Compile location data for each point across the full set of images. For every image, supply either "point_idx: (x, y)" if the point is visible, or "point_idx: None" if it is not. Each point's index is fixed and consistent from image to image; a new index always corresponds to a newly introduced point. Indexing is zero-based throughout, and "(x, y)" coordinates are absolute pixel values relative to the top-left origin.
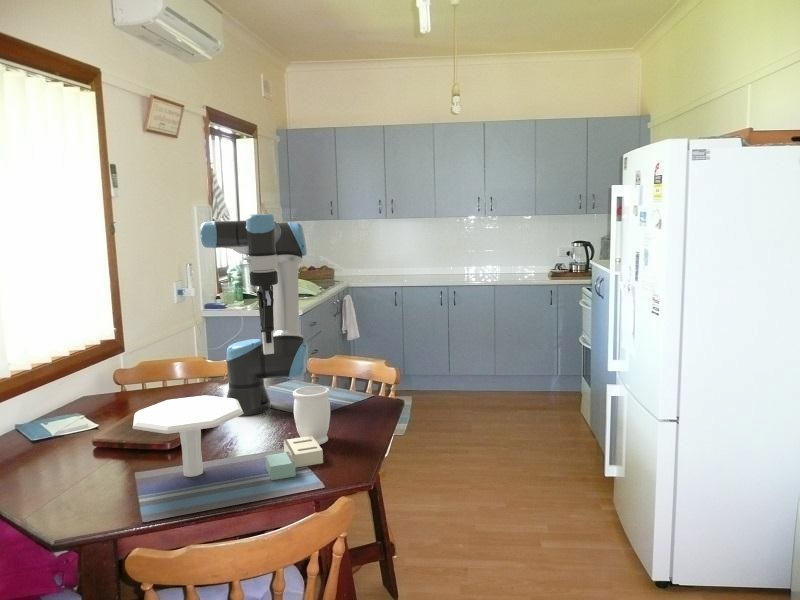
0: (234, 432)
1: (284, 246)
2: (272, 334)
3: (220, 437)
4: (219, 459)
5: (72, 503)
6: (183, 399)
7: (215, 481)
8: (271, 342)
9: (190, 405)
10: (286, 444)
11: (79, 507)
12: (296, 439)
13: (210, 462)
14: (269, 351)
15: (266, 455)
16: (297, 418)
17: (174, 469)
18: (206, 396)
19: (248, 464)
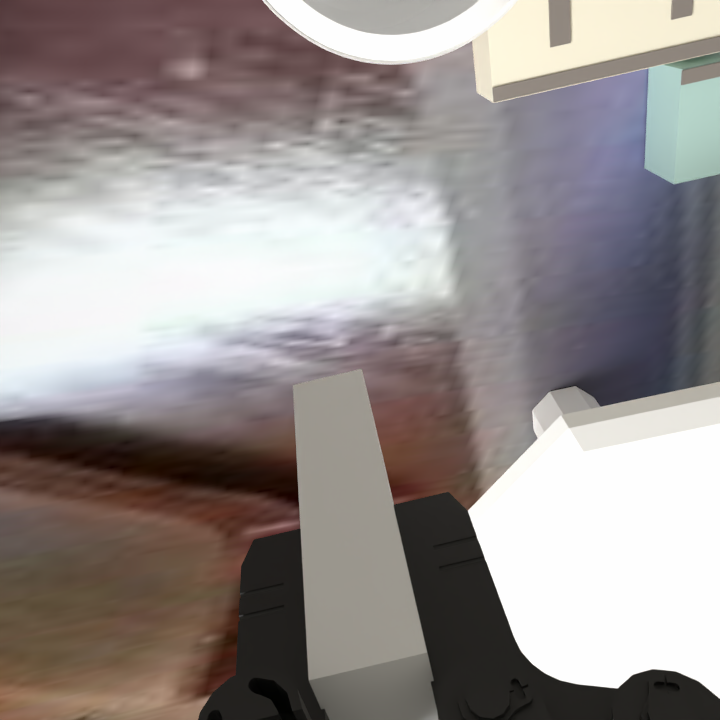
0: (151, 342)
1: None
2: (411, 590)
3: (212, 386)
4: (466, 354)
5: None
6: None
7: (670, 337)
8: (453, 498)
9: (575, 603)
10: (571, 84)
11: None
12: (511, 26)
13: (486, 379)
14: (377, 435)
15: (675, 179)
16: (444, 19)
17: (507, 468)
18: None
19: (561, 244)
